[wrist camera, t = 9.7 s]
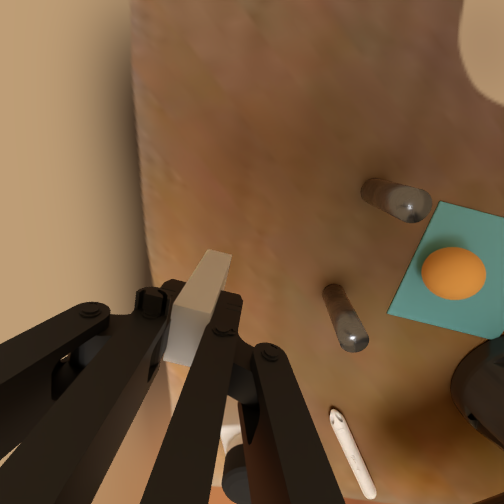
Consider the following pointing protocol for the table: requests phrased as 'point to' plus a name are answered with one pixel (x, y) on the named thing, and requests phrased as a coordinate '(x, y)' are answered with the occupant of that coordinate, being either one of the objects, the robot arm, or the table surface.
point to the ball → (453, 273)
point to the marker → (352, 454)
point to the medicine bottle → (234, 456)
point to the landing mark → (466, 310)
